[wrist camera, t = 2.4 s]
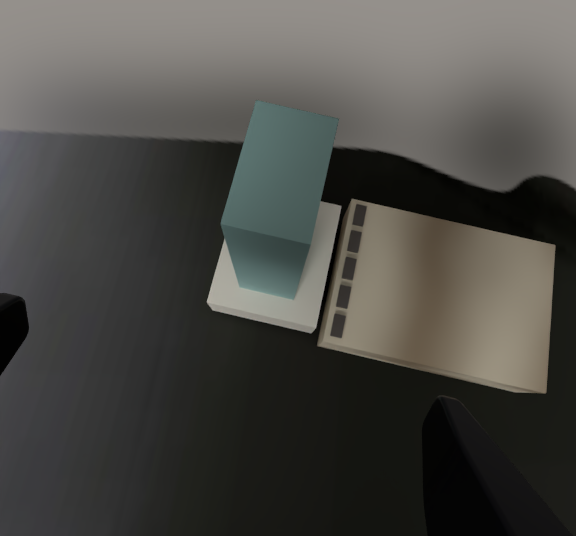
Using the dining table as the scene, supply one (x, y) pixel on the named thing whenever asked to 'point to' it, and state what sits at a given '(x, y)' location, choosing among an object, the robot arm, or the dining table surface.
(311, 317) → the teal pillar on base
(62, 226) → the dining table surface
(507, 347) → the beige flat block
